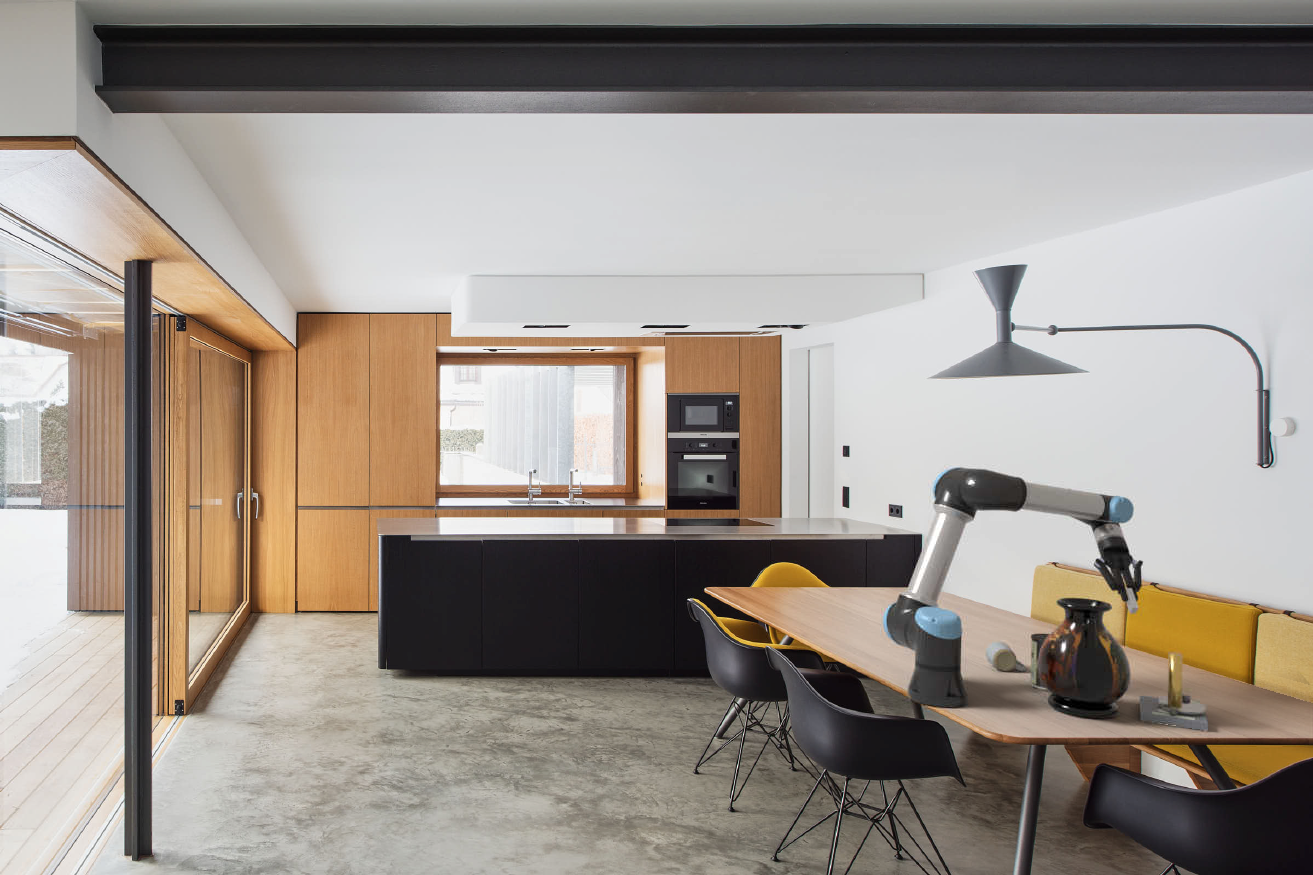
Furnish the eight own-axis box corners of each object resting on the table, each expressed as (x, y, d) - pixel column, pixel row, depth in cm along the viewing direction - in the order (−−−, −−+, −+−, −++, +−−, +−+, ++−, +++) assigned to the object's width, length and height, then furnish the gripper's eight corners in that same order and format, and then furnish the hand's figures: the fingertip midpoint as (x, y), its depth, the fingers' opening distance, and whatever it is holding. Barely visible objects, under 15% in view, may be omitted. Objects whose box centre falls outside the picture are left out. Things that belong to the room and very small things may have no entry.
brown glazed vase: (1141, 727, 201) (1142, 612, 201) (1044, 717, 207) (1046, 605, 207) (1117, 702, 222) (1118, 597, 222) (1030, 693, 228) (1032, 592, 228)
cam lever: (1210, 709, 209) (1211, 651, 209) (1197, 718, 201) (1198, 658, 202) (1165, 700, 216) (1166, 644, 216) (1151, 708, 209) (1152, 650, 209)
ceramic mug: (992, 671, 250) (993, 646, 250) (985, 664, 258) (986, 640, 258) (1029, 674, 249) (1030, 648, 249) (1020, 667, 257) (1021, 642, 257)
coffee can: (1078, 690, 232) (1079, 640, 232) (1047, 693, 229) (1048, 641, 229) (1051, 680, 242) (1052, 632, 242) (1022, 682, 239) (1022, 633, 239)
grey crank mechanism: (1207, 731, 199) (1207, 715, 199) (1140, 720, 206) (1140, 705, 206) (1201, 711, 215) (1202, 697, 215) (1139, 702, 222) (1139, 688, 222)
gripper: (1091, 534, 242) (1112, 601, 225) (1139, 535, 240) (1164, 603, 223) (1084, 550, 247) (1104, 617, 230) (1131, 552, 245) (1155, 619, 228)
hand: (1134, 610), depth 226 cm, fingers closed
